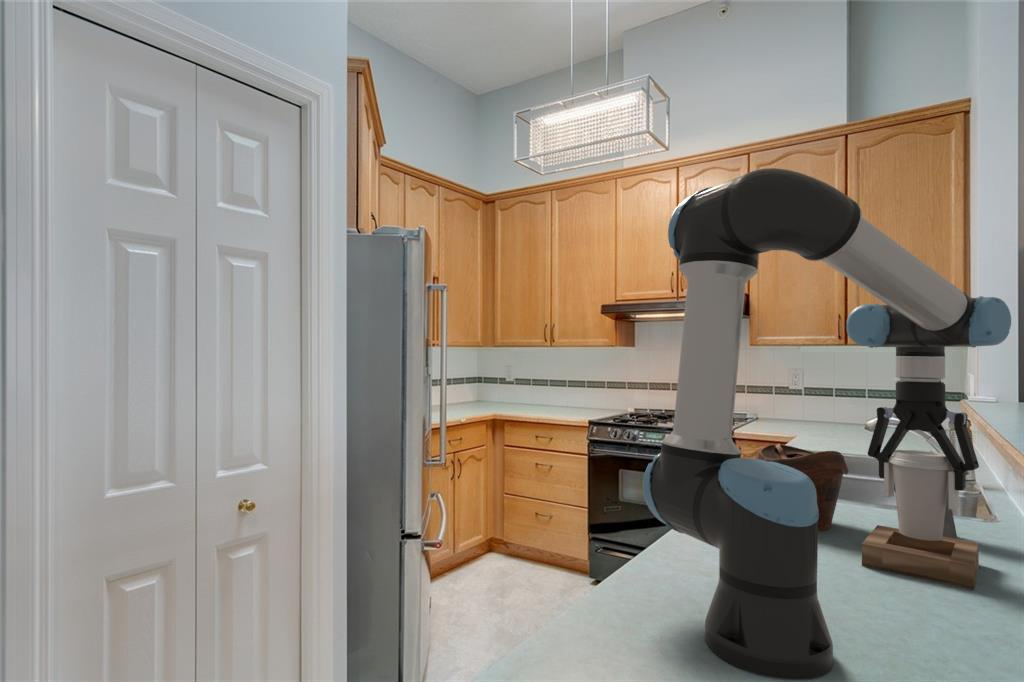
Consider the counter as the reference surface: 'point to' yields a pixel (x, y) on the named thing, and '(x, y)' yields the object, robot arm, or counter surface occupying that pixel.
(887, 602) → the counter surface
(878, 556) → the holder
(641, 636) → the counter surface
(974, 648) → the counter surface
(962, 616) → the counter surface
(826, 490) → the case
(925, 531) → the coffee cup
